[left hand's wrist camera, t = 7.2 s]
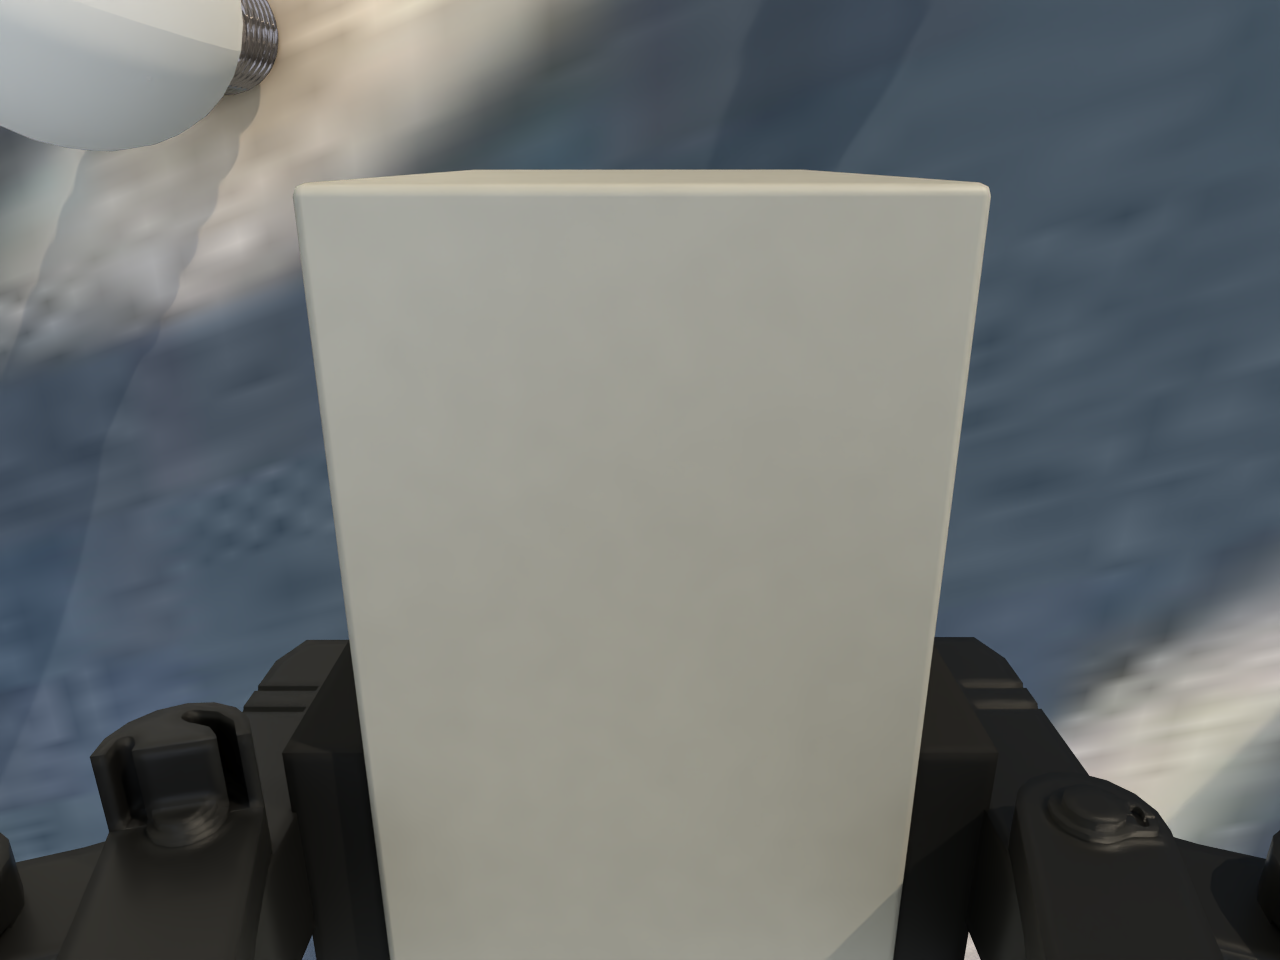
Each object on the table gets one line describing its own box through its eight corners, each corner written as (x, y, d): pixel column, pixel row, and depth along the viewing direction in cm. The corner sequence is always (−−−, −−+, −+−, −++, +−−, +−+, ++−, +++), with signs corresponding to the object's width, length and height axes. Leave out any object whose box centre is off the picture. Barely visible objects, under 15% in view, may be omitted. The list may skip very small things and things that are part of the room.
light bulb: (342, -48, 26) (151, -185, 15) (294, 183, 28) (97, 200, 18) (104, -141, 25) (-268, -351, 15) (73, 106, 27) (-269, 76, 17)
